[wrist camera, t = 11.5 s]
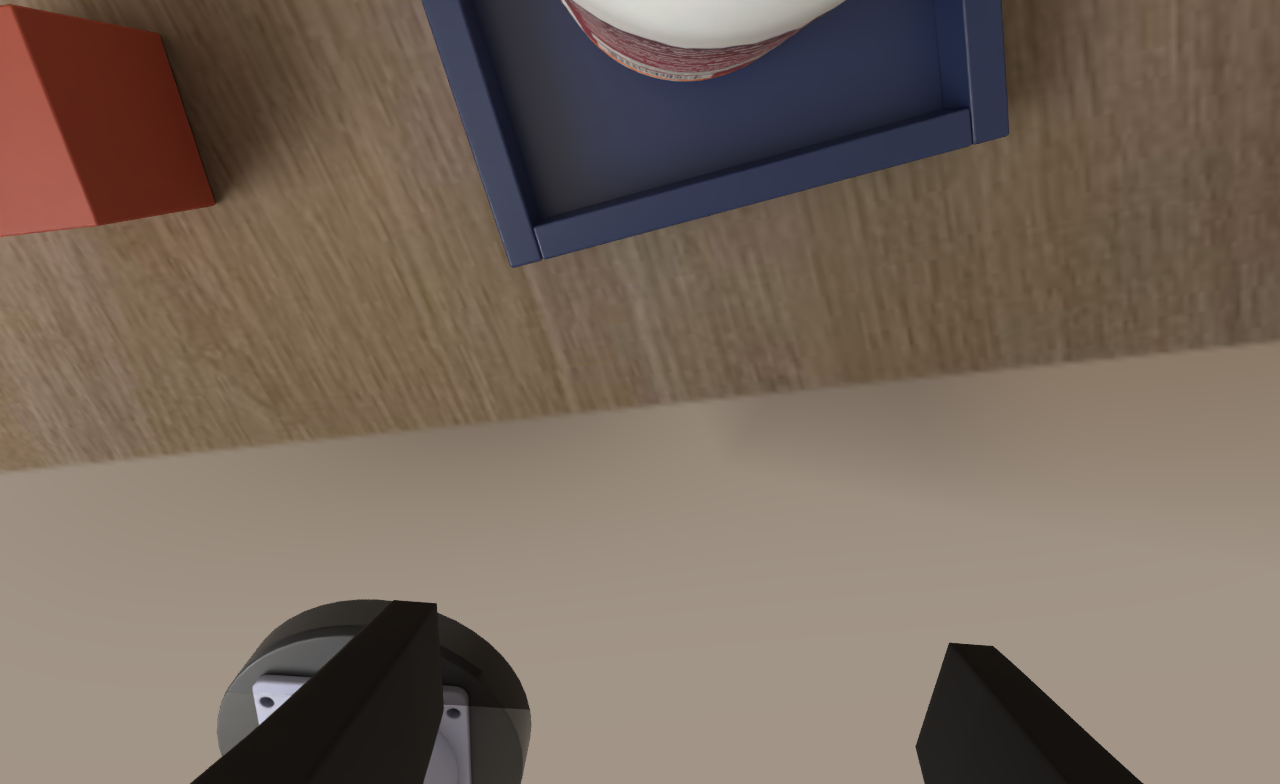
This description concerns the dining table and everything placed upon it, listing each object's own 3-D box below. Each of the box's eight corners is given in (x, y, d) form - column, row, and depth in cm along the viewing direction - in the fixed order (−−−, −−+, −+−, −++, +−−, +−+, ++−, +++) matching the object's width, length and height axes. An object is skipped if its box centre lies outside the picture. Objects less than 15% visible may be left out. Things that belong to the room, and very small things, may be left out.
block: (216, 205, 17) (98, 225, 14) (70, 221, 18) (-86, 246, 14) (160, 33, 16) (10, 3, 12) (2, 53, 16) (-193, 30, 12)
